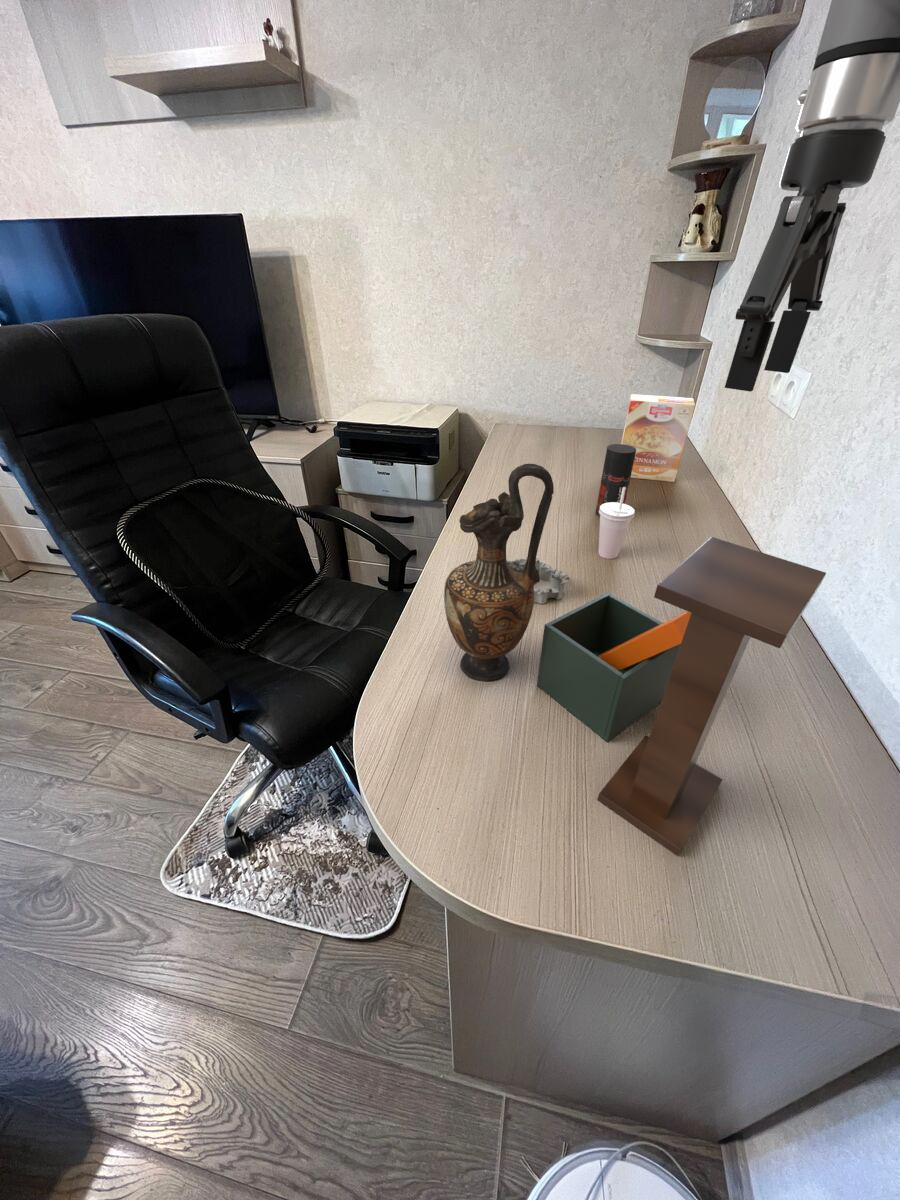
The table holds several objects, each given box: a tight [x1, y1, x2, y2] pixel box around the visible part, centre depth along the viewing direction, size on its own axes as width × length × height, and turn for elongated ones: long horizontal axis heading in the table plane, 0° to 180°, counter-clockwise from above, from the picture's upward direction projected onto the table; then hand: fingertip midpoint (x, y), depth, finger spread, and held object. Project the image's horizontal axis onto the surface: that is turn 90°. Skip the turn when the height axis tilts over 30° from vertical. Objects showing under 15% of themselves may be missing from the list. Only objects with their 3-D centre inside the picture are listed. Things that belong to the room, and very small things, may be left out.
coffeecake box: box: [620, 393, 696, 483], centre depth 128 cm, size 15×7×20 cm, turn 73°
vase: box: [443, 463, 555, 682], centre depth 63 cm, size 12×12×30 cm
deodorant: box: [595, 443, 636, 518], centre depth 110 cm, size 6×6×15 cm
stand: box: [597, 536, 827, 857], centre depth 47 cm, size 11×9×28 cm
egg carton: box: [507, 557, 570, 605], centre depth 88 cm, size 11×8×4 cm
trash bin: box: [536, 592, 681, 743], centre depth 65 cm, size 12×12×11 cm
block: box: [597, 610, 691, 671], centre depth 61 cm, size 18×4×2 cm
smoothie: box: [598, 487, 636, 560], centre depth 95 cm, size 6×6×14 cm
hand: (758, 380), depth 58 cm, fingers open, 13 cm apart
